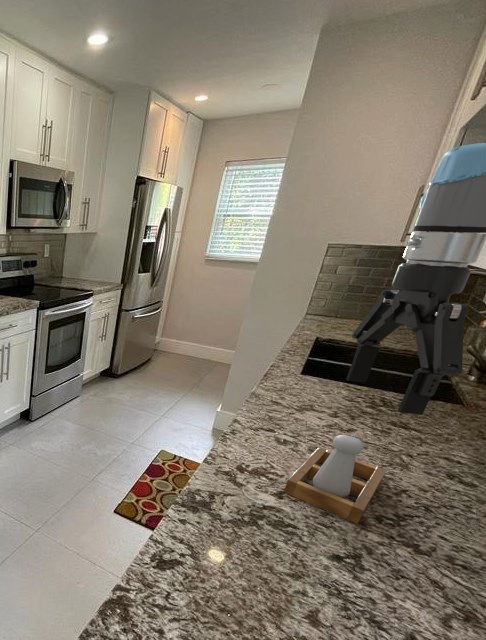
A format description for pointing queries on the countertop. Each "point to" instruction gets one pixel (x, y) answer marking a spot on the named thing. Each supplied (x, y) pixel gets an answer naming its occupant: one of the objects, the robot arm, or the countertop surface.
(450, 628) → the countertop surface
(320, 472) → the salt shaker
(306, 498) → the frame
